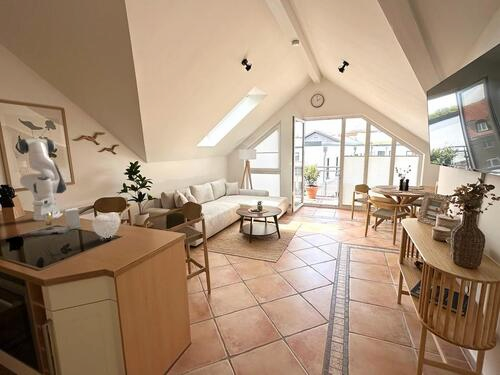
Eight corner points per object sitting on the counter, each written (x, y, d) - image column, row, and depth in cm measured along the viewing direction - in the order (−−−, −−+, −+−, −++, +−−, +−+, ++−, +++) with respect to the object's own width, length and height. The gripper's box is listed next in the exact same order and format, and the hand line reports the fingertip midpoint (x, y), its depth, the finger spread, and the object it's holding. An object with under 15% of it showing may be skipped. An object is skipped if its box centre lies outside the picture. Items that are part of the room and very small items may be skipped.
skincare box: (80, 226, 189) (78, 207, 187) (80, 228, 184) (79, 209, 182) (66, 228, 184) (64, 209, 182) (67, 230, 179) (65, 210, 177)
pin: (48, 224, 174) (46, 212, 173) (53, 224, 174) (51, 211, 173) (45, 225, 171) (43, 213, 169) (50, 225, 171) (48, 213, 170)
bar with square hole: (36, 231, 175) (35, 228, 175) (69, 230, 179) (69, 226, 178) (29, 235, 168) (28, 231, 168) (64, 233, 172) (63, 229, 171)
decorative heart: (114, 233, 172) (112, 210, 170) (125, 235, 168) (123, 211, 166) (89, 242, 156) (87, 216, 154) (100, 244, 152) (98, 218, 149)
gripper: (50, 197, 180) (52, 215, 182) (30, 203, 160) (33, 223, 162) (60, 197, 181) (62, 215, 183) (41, 202, 161) (43, 222, 163)
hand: (48, 219), depth 172 cm, fingers closed on pin, 3 cm apart
